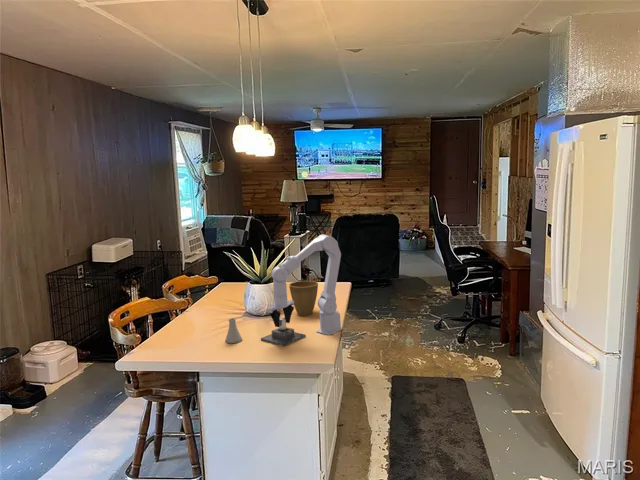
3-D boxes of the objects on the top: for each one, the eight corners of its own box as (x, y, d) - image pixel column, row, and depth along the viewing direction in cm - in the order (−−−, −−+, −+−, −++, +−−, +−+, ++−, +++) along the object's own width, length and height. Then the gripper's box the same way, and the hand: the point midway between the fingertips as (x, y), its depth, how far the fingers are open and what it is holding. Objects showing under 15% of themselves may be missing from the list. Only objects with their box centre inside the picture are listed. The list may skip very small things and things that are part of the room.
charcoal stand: (283, 331, 224) (282, 323, 223) (305, 336, 214) (305, 328, 214) (260, 340, 213) (260, 331, 213) (283, 346, 204) (282, 337, 203)
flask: (222, 341, 214) (220, 319, 213) (236, 337, 219) (234, 315, 218) (231, 345, 209) (229, 322, 208) (245, 340, 214) (243, 318, 213)
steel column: (283, 334, 216) (282, 317, 215) (288, 335, 214) (287, 318, 213) (277, 336, 213) (276, 319, 212) (283, 337, 211) (282, 320, 210)
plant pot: (307, 319, 239) (305, 288, 237) (285, 315, 248) (283, 285, 246) (325, 312, 251) (323, 282, 249) (303, 308, 260) (301, 279, 258)
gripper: (285, 289, 219) (287, 318, 221) (261, 297, 208) (264, 327, 210) (296, 291, 214) (298, 321, 216) (273, 299, 204) (275, 330, 205)
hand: (282, 324), depth 213 cm, fingers open, 6 cm apart
